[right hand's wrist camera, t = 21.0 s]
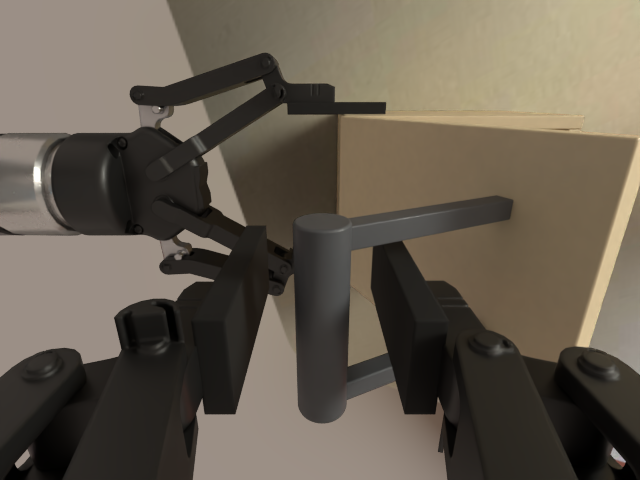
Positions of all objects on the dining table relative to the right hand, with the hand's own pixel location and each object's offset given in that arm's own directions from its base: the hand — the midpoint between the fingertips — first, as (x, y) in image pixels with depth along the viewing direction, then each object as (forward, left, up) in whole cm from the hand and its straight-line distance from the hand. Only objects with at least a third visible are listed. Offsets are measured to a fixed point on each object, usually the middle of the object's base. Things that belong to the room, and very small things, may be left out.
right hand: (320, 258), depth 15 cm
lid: (-1, +5, -3) cm, 6 cm away
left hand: (-1, +4, -14) cm, 14 cm away
